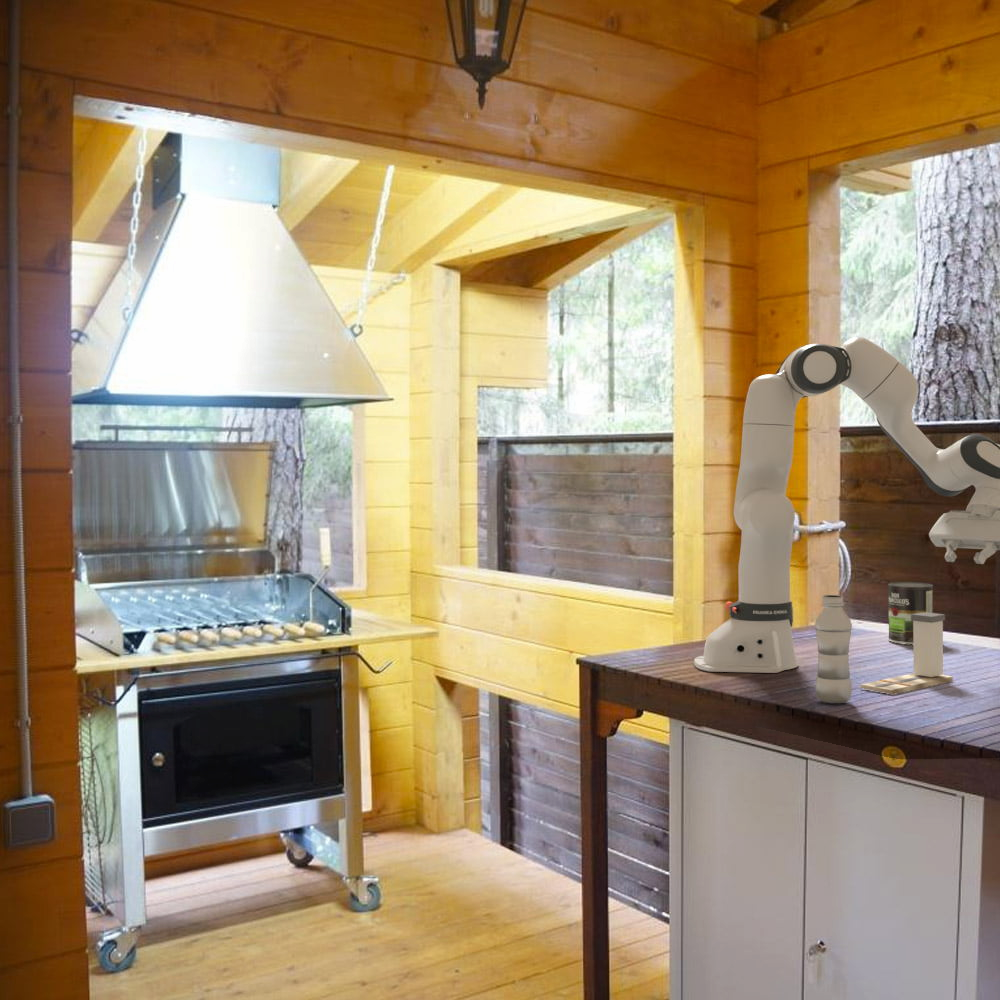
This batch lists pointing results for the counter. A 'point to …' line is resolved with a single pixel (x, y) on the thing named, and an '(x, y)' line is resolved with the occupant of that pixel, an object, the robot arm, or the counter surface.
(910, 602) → the coffee can
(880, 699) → the counter surface
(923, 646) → the slider handle
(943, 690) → the counter surface
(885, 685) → the board
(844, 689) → the plastic bottle
